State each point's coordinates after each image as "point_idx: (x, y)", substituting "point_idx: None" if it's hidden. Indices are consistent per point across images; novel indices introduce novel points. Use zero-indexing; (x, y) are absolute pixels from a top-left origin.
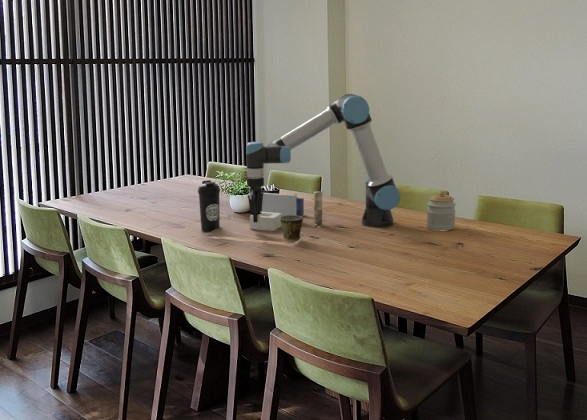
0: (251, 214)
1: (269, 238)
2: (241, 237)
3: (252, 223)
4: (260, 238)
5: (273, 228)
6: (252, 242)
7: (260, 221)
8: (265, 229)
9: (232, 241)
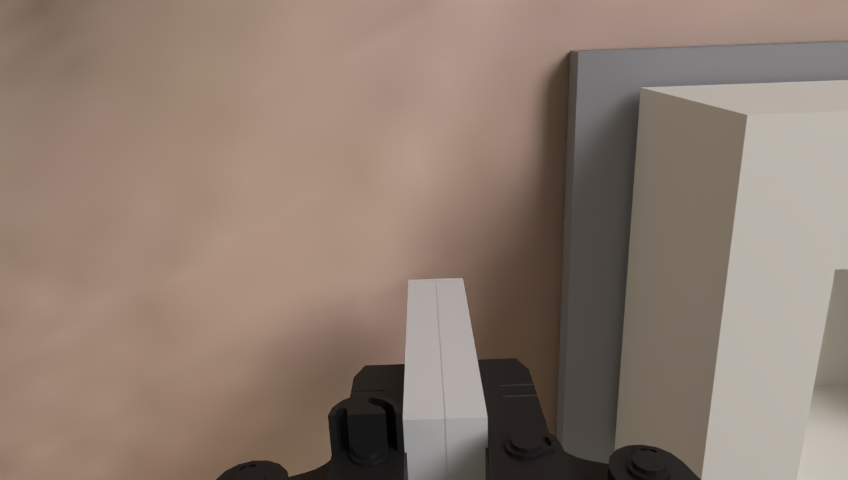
0: (250, 474)
1: None
2: (274, 115)
3: (671, 154)
4: (334, 371)
5: None
6: (124, 360)
7: (676, 326)
8: (625, 344)
9: (24, 92)
